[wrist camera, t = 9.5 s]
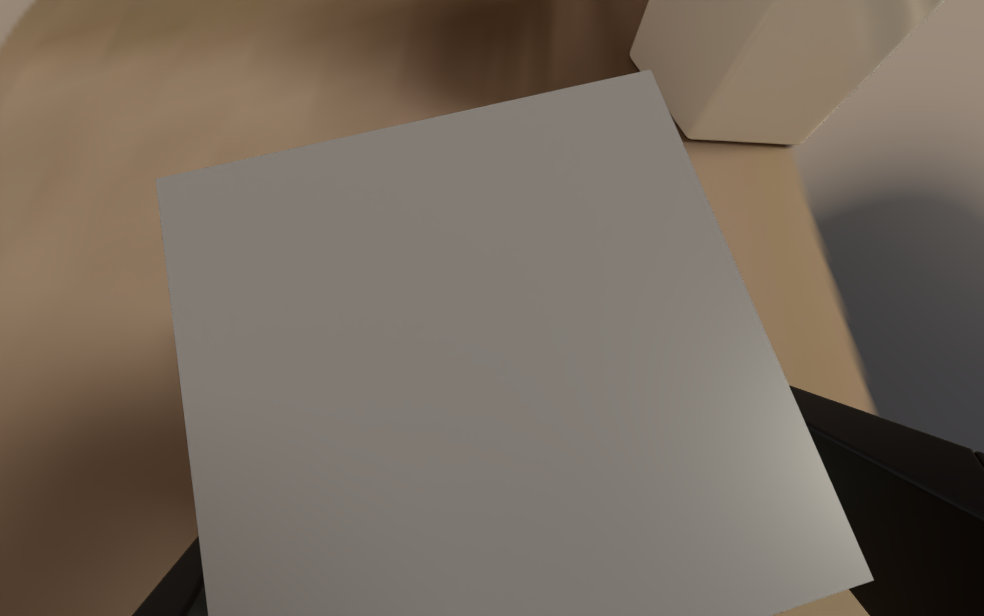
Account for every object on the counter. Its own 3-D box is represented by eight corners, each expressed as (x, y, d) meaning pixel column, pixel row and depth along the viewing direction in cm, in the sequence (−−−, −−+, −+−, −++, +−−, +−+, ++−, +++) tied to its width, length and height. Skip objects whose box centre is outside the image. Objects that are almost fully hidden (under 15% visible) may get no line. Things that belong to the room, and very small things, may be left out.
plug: (558, 492, 17) (874, 580, 4) (429, 531, 17) (231, 801, 3) (520, 365, 18) (651, 69, 5) (398, 399, 18) (155, 178, 4)
